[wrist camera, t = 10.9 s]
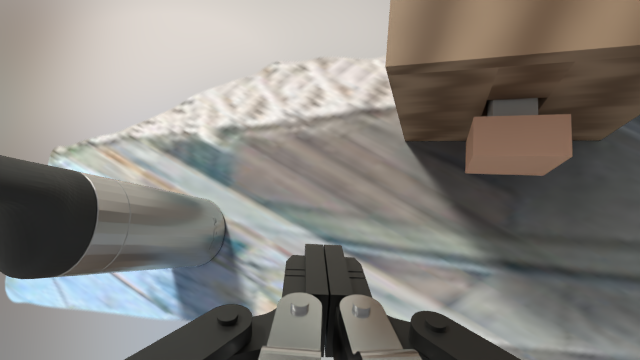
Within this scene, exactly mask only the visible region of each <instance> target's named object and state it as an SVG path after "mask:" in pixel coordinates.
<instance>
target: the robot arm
mask: <svg viewBox="0 0 640 360" xmlns="http://www.w3.org/2000/svg"><path fill="white" fill-rule="evenodd" d="M224 233H225V224H224V219H223V216H222V213H221V211H220V209H219V208H218V207H217V206H216V205H215V204H214V203H213V202H211V201H209V200H206V199H202V198H198V197H193V196H188V195H184V194H180V193H175V192H170V191H166V190H161V189H156V188H152V187H147V186H142V185H138V184H133V183H128V182H124V181H119V180H114V179H110V178H104V177H100V176H95V175H90V174H86V173H81V172H77V171H73V170H68V169H63V168H58V167H53V166H48V165H43V164H39V163H34V162H29V161H24V160H20V159H15V158H10V157H6V156H2V155H0V272H2V273H3V274H5V275H7V276H9V277H12V278H18V279H37V278H50V277H63V276H77V275H89V274H101V273H114V272H128V271H141V270H154V269H168V268H182V267H193V266H200V265H203V264H206V263H207V262H209V261H210V260H211V259H212V258H213V257H214V256H215V255H216V254H217V252H218V251H219V249H220V247H221V245H222V243H223V239H224ZM324 345H325V356H326V357H333V358H334V360H521V359H519V358H517V357H515V356H514V355H512V354H510V353H508V352H507V351H505V350H503V349H501V348H500V347H498V346H496V345H494V344H493V343H491V342H489V341H488V340H486V339H484V338H482V337H481V336H479V335H477V334H475V333H474V332H472V331H470V330H468V329H467V328H465V327H463V326H461V325H460V324H458V323H456V322H455V321H453V320H451V319H449V318H448V317H446V316H444V315H442V314H439V313H436V312H431V311H420V312H417V313H415V314H414V315H413V316H412V318H411V322H407V321H403V320H399V319H395V318H392V317H390V316H388V315H386V313H385V311H384V309H383V307H382V305H381V304H380V303H379V302H378V301H377V300H375V299H373V298H372V295H371V293H370V290H369V287H368V284H367V281H366V279H365V275H364V273H363V269H362V266H361V264H360V263H359V262H358V261H357V260H356V259H355V258H350V257H344V254H343V250H342V246H341V245H324V247H323V245H318V244H305V256H299V255H292V256H291V257H290V258H289V259H288V260H287V261H286V268H285V277H284V285H283V293H282V298H281V299H280V301H279V302H278V305H277V308H276V309H275V310H273V311H271V312H269V313H267V314H264V315H259V316H254V317H252V313H251V312H250V311H249V309H247V308H246V307H244V306H241V305H235V304H228V305H223V306H219V307H216V308H214V309H212V310H211V311H209V312H207V313H205V314H204V315H202V316H200V317H198V318H197V319H195V320H193V321H191V322H190V323H188V324H186V325H185V326H183V327H181V328H179V329H177V330H175V331H174V332H172V333H170V334H169V335H167V336H165V337H163V338H161V339H160V340H158V341H156V342H155V343H153V344H151V345H150V346H147V347H146V348H144V349H142V350H140V351H139V352H137V353H135V354H134V355H132V356H130V357H128V358H126V359H125V360H321V357H323V356H324Z"/></svg>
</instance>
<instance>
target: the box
mask: <svg viewBox="0 0 640 360" xmlns="http://www.w3.org/2000/svg"><path fill="white" fill-rule="evenodd" d="M385 67H386V71H387V74H388V78H389V82H390V86H391V90H392V93H393V97H394V101H395V105H396V109H397V112H398V116H399V120H400V124H401V128H402V131H403V135H404V139H405V141H467V137H468V134H469V131H470V128H471V124H472V121H473V118H474V117H482V116H487V100H502V99H525V98H538V115H555V114H571V128H572V141H575V140H602V139H603V138H605V137H606V136H608V135H609V134H611V133H612V132H614V131H615V130H617V129H619V128H620V127H622V126H623V125H625V124H626V123H628V122H629V121H631V120H632V119H634V118H636V117H637V116H639V115H640V0H391V1H390V15H389V28H388V40H387V53H386V66H385Z"/></svg>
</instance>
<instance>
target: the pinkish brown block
mask: <svg viewBox="0 0 640 360" xmlns="http://www.w3.org/2000/svg"><path fill="white" fill-rule="evenodd" d="M571 157H572V128H571V114H555V115H538V98H525V99H502V100H487V116H482V117H474V118H473V121H472V124H471V128H470V131H469V134H468V137H467V141H466V166H465V173H470V174H504V175H537V176H544V175H545V174H547V173H548V172H550V171H551V170H553V169H554V168H556V167H557V166H559V165H560V164H562V163H563V162H565V161H566V160H568V159H569V158H571Z"/></svg>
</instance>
